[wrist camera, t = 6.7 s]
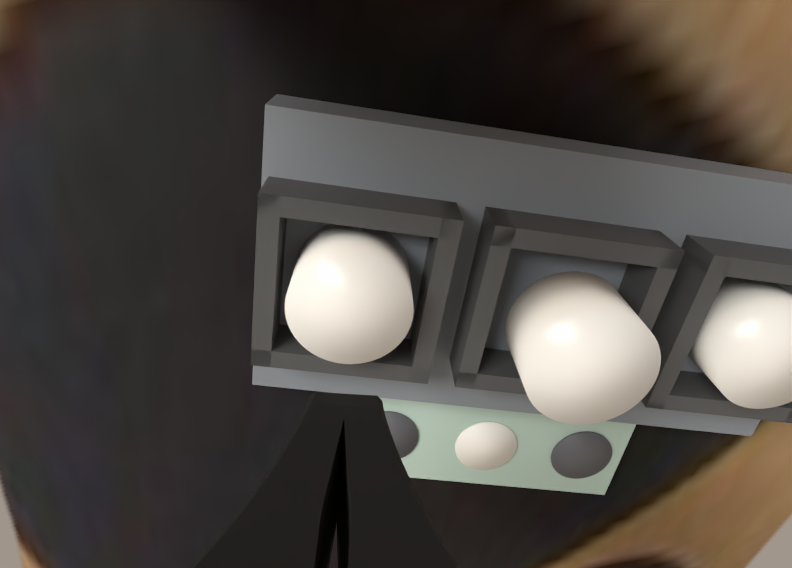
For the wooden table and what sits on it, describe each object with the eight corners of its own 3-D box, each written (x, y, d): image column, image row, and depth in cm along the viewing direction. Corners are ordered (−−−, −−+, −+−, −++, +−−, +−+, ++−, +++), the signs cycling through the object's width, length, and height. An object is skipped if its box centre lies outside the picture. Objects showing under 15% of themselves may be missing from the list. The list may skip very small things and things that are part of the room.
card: (634, 412, 23) (639, 420, 23) (601, 487, 25) (605, 496, 25) (350, 382, 22) (349, 390, 21) (338, 463, 24) (337, 472, 23)
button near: (418, 229, 17) (424, 261, 15) (399, 328, 18) (402, 370, 16) (300, 212, 17) (288, 243, 14) (292, 315, 18) (280, 357, 16)
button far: (805, 280, 18) (862, 317, 16) (757, 369, 20) (803, 414, 18) (703, 267, 18) (748, 303, 16) (663, 358, 19) (698, 402, 17)
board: (839, 180, 19) (934, 217, 16) (722, 402, 23) (778, 467, 20) (276, 94, 17) (253, 114, 14) (262, 352, 21) (242, 414, 18)
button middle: (641, 279, 16) (682, 321, 14) (601, 379, 18) (632, 430, 15) (522, 264, 16) (544, 304, 14) (493, 367, 17) (509, 418, 15)
